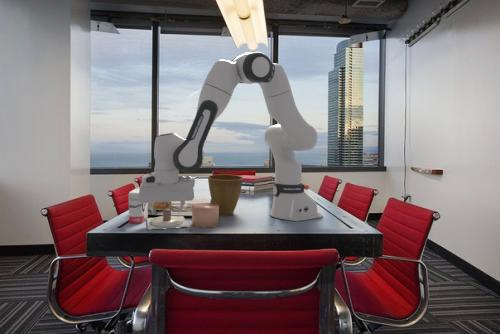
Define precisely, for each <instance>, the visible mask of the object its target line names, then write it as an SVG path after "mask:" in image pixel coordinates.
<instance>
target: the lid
mask: <svg viewBox="0 0 500 334" xmlns="http://www.w3.org/2000/svg"><path fill="white" fill-rule="evenodd" d="M178 216H179V215H178ZM178 216H177V215H172V208H171V209H163V210H162V215H161V216H160V215H159V216H157V217H152V218H153V219H151V220H150V223H151V225H153V226H158V227H171V226H177V225H180V224H182V223H183V218H181V217H178Z"/></svg>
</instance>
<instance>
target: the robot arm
mask: <svg viewBox="0 0 500 334" xmlns="http://www.w3.org/2000/svg"><path fill="white" fill-rule="evenodd" d="M238 84H246V85H247V84H248V85H252V84H258V85H259V86H260V88H261V92H262V93H263V94H262V95H263V99H264V102H265V104H266V109H267V111H268V114H269V116H270V118H272V119H274V120H275V121H276V122H277V124H273V125H270V126H268V127H267V128H266V129H265V132H264V141H265V144H266V145H267V146H268V147H269V149H270V150H271V153H272V157H273V160H274V169H275V170H274V171H275V172H274V182H273V188H272V189H273V199H272V200H273V201H272V204H271V205H272V206H271V210H270V212H269V216H271V217H273V218H276V219H281V220H287V221H288V220H289V221H292V222H300V221H308V220H314V219H320V218H323V213H322V212H320V211H319V210H318V205H317V202H316V200H315V199H313V198H312V197H311V196H310V195H309V194H308V193H306V192H305V190H307V191H309V188H310V186H309V185H308V184H304V183H302V170H303V169H302V167H303V166H302V163H301V162H300V161H299V160H298V159H297V158H296V155H295V152H304V151H305V152H306V151H310V150H313V149H314V148H315V147H316V145H317V143H318V138H319V137H318V132H317V130H316V129H315V128H314V126H312V125H310V124H309V123H308V122H307V121H306V120H305V119H304V117H303V116H302V114H301V113H300V111H299V110H298V108H297V105H296V101H295V99H294V95H293V92H292V88H291V85H290V81H289V79H288V76H287V74H286V71H285V69H284V68H283V66H282V65H281V64H279V63H273V62H272V60H271V58H269V57H268V55H266V53H263V52H260V51H253V52H251V51H250V52H245V53H243V54H241V55H240V54H239V55H238V56H236V57H235V58H233V59H232V60H227V59H218V60H217V61H215V62H214V64H213V65H212V67H211V68H210V70H209V72H208V73H207V75H206V77H205V80H204V82H203V85H202V86H201V90H200V93H199V97H198V102H197V109H196V113H195V117H194V119H193V122H192V124H191V127H190V129H189V131H188V134H187V136H186V137H185V138H183V137H181V136H180V135H179V134H177V133H176V132H171V133H163V134H159V135H157V137H155V141H154V150H153V153H154V154H153V155H154V156H153V157H154V162H155V163H154V164H155V165H154V166H153V167H154V171H153V172H150V173H147V174H144V175H142V176H141V181H142V182H141V183H140V185H139V188H138V189H139V196H138V200H139V202H140V203H148V208H149V207H150V208H151V210H152V211H151V210H150V211H151V215H156V214H157V211H156V208H154V209H153V207H152V205H153V202H171V203H173V202H180V205H179V206H178V207H177V210H176V212H177V213H182V212H183V211H182V210H183V207H184V205H185V204H186V203H185V202H188V201H194V199H195V190H194V188H195V183H196V182H195V178H194V177H192V176H189V175H188V176H183V175H181V176H180V175H179V174H180V173H183V174H193V173H195V172H197V171H198V170H199V169H200V168H201V166H202V164H203V161H204V158H205V152H204V146H205V143H206V140H207V138H208V136H209V133H210V131H211V128H212V126H213V124H214V123H215V121H216V120H217V118H219V117H220V116H221V115H222V114H223V113H224V111H225V110H226V108H227V106H228V105H229V103H230V101H231V98H232V96H233V93H234V91H235V89H236V88H237V86H238Z"/></svg>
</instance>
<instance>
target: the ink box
mask: <svg viewBox="0 0 500 334" xmlns="http://www.w3.org/2000/svg"><path fill="white" fill-rule="evenodd" d="M138 196H139V188H134V189H133V190H131V191H129V192H128V222H129V224H142V223H144V222H145V221H147V218H149V203H140V202H139V200H138Z"/></svg>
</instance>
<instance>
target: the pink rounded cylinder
mask: <svg viewBox="0 0 500 334" xmlns="http://www.w3.org/2000/svg"><path fill="white" fill-rule="evenodd" d="M191 207H192V208H191V209H192V210H191V214H192V215H191V222H192V223H191V225H192V227H195V226H197V227H196V228H198V227H212V228H215V227H214V226H216V227H217V225H218V226H219V224H220V222H219V219H220V218H219V217H220V215H219V205H217V204H213V203H211V202H201V203H200V202H199V203H195V204H193V205H192V206H191Z"/></svg>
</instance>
